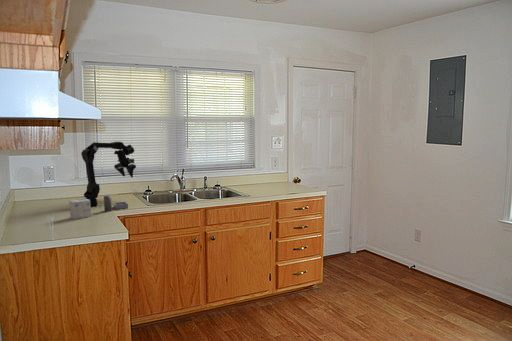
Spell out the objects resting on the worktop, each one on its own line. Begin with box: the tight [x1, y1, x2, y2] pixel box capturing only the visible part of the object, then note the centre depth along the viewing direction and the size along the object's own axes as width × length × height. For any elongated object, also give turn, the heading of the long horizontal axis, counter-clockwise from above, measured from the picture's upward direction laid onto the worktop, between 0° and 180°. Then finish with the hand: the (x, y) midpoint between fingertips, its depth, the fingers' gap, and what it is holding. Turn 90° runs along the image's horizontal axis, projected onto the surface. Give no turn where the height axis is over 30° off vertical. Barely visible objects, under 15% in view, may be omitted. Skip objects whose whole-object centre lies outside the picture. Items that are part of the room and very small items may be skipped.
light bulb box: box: [68, 198, 92, 220], centre depth 252 cm, size 11×7×11 cm, turn 141°
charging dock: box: [113, 201, 129, 210], centre depth 278 cm, size 8×8×3 cm
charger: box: [103, 195, 112, 213], centre depth 268 cm, size 4×4×10 cm
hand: (128, 176), depth 306 cm, fingers open, 9 cm apart
